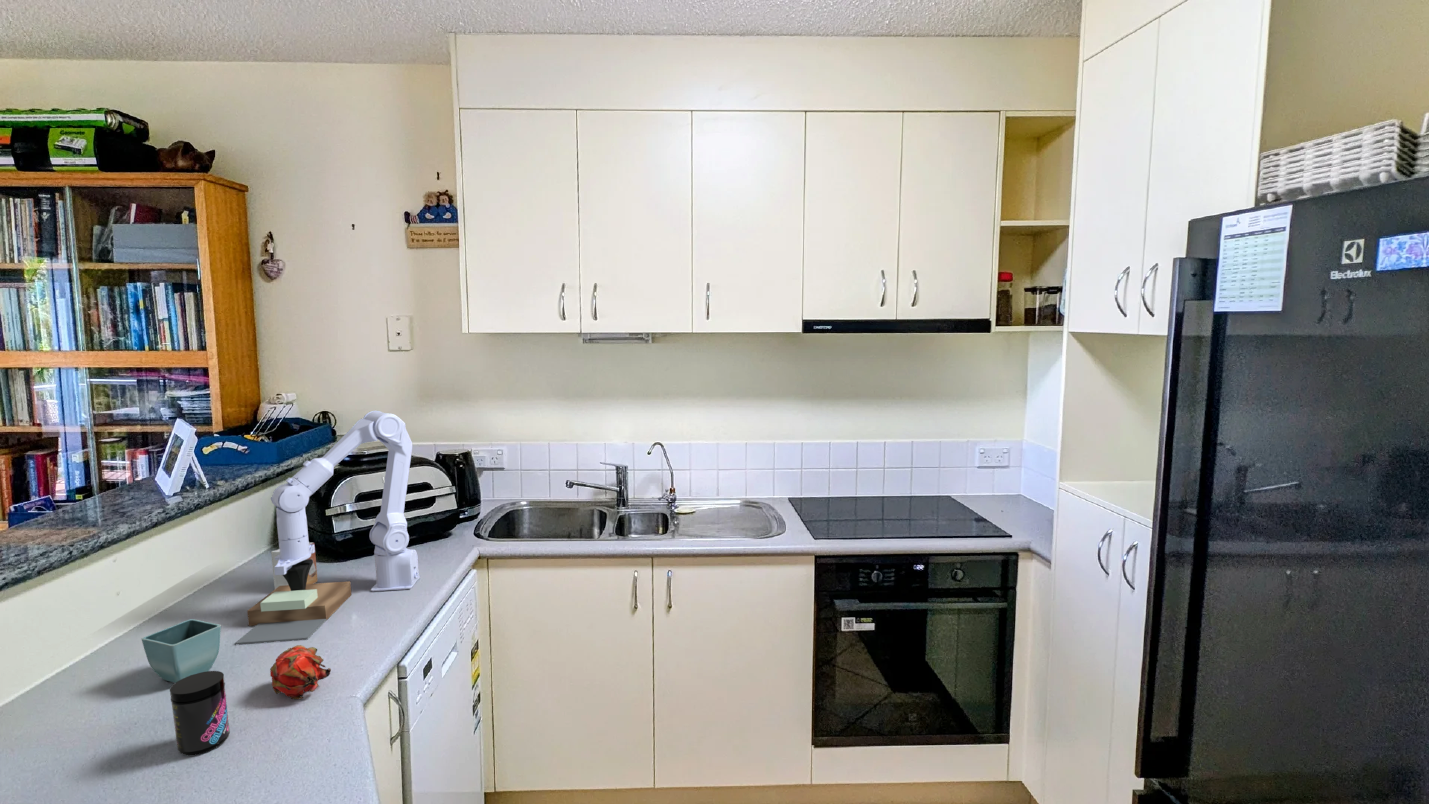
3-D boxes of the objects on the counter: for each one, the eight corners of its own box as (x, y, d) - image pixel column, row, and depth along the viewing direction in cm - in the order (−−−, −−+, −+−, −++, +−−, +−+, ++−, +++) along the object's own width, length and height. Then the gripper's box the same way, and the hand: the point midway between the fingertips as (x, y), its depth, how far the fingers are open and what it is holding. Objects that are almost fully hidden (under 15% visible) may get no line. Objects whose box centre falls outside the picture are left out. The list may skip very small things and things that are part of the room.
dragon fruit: (291, 684, 125) (317, 716, 118) (247, 676, 119) (271, 709, 111) (319, 642, 127) (346, 670, 120) (277, 631, 121) (303, 661, 114)
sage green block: (317, 597, 152) (316, 589, 152) (305, 608, 146) (304, 600, 146) (275, 600, 151) (274, 591, 151) (261, 611, 145) (260, 602, 145)
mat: (326, 620, 148) (326, 618, 148) (307, 639, 140) (307, 637, 140) (258, 625, 147) (258, 623, 146) (235, 644, 138) (234, 642, 138)
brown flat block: (351, 595, 162) (350, 581, 162) (326, 620, 148) (325, 605, 148) (280, 599, 160) (279, 585, 160) (248, 625, 146) (247, 610, 146)
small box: (293, 594, 163) (289, 552, 162) (274, 592, 165) (270, 551, 163) (318, 581, 171) (315, 542, 170) (300, 580, 172) (296, 540, 171)
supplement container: (193, 762, 101) (186, 697, 99) (167, 751, 103) (159, 688, 102) (240, 736, 107) (233, 675, 106) (214, 727, 110) (207, 667, 108)
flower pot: (227, 668, 128) (222, 624, 127) (177, 692, 120) (172, 645, 119) (196, 661, 131) (190, 618, 130) (145, 684, 123) (139, 638, 122)
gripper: (290, 527, 158) (295, 582, 159) (257, 548, 143) (263, 608, 145) (322, 526, 159) (326, 580, 160) (292, 546, 144) (297, 605, 146)
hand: (298, 593), depth 153 cm, fingers closed
